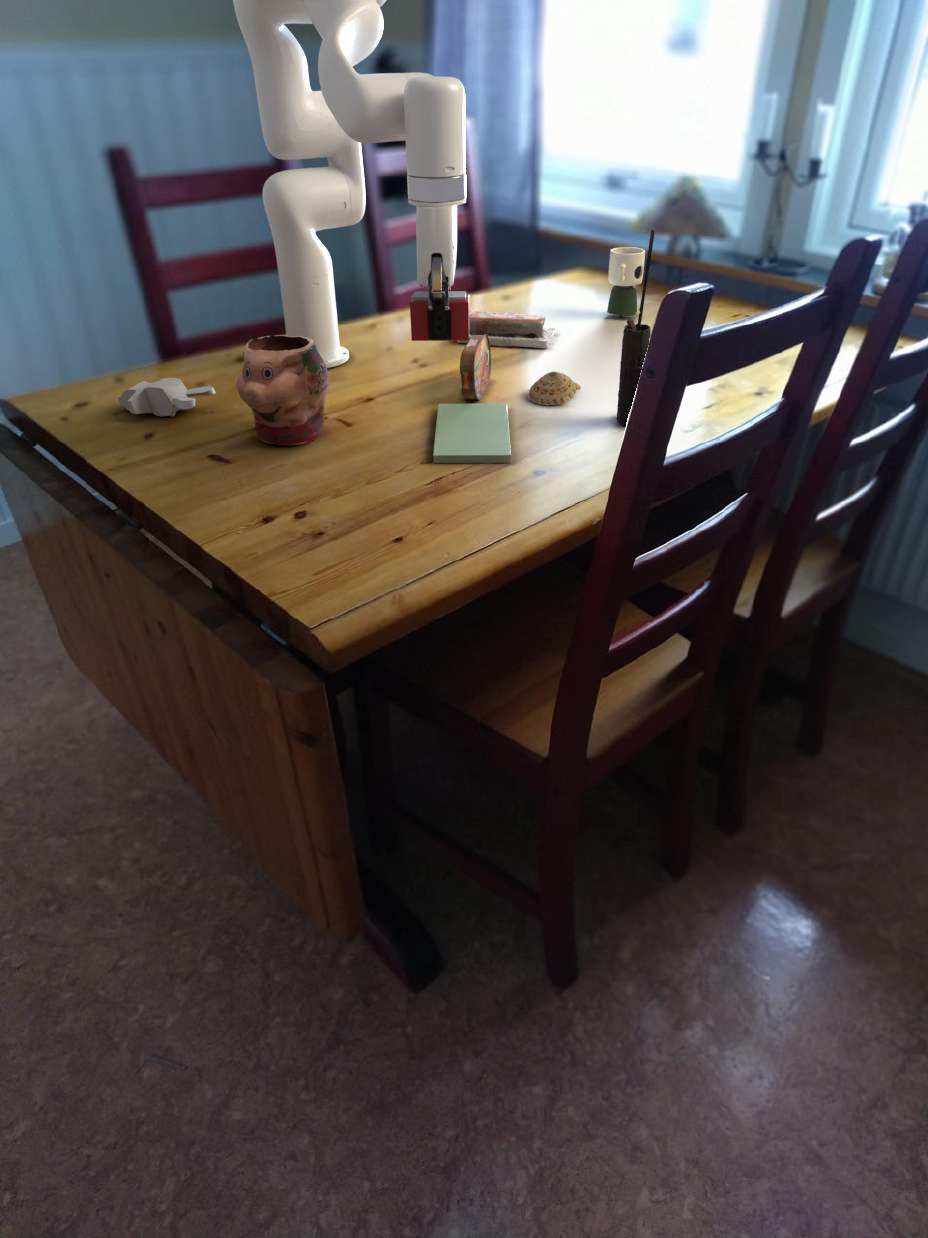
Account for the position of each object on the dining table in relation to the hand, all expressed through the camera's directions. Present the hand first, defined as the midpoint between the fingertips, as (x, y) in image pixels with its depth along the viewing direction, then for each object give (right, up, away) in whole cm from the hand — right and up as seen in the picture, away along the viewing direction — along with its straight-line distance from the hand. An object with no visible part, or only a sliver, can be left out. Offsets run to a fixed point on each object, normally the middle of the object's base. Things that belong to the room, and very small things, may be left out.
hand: (440, 331), depth 120 cm
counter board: (+5, -13, +9) cm, 16 cm away
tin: (+5, -2, +25) cm, 25 cm away
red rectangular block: (0, 0, 0) cm, 1 cm away
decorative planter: (-23, -12, +11) cm, 28 cm away
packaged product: (+12, +15, +48) cm, 52 cm away
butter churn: (+29, -9, +13) cm, 33 cm away
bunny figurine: (-45, -7, +18) cm, 49 cm away
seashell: (+18, -4, +22) cm, 29 cm away
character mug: (+37, +24, +61) cm, 75 cm away
